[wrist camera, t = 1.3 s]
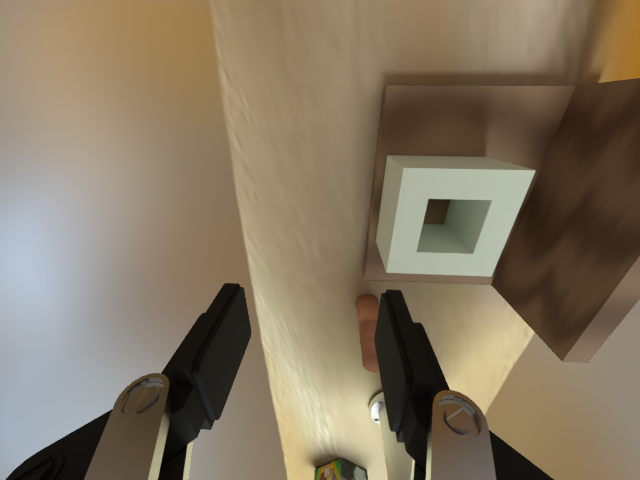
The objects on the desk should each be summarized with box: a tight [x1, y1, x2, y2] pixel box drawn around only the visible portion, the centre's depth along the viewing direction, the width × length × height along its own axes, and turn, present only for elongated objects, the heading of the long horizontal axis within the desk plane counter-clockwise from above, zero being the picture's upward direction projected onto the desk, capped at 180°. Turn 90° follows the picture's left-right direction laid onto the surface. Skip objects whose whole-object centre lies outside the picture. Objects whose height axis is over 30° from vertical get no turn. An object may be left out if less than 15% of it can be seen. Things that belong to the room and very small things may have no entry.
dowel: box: [356, 294, 379, 373], centre depth 29 cm, size 3×3×9 cm
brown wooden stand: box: [363, 78, 640, 363], centre depth 20 cm, size 20×18×12 cm
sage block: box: [376, 155, 536, 277], centre depth 21 cm, size 9×9×6 cm
